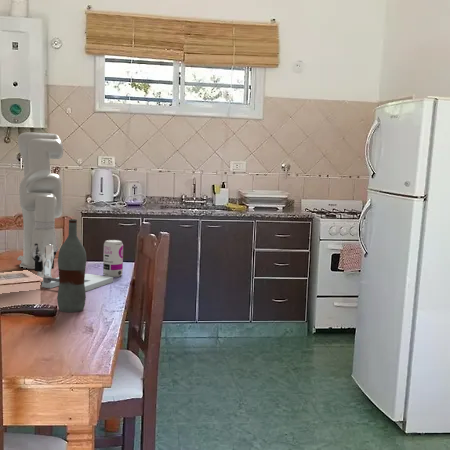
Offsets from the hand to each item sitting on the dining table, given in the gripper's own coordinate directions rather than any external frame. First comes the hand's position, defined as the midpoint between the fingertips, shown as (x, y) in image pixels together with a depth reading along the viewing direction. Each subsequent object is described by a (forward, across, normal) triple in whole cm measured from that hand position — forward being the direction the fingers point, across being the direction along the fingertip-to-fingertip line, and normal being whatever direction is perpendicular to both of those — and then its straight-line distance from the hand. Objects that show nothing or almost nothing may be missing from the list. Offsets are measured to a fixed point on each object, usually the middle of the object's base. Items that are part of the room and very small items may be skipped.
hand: (44, 269), depth 224 cm
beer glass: (+5, 0, 0) cm, 5 cm away
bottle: (+5, +29, +34) cm, 45 cm away
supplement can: (+5, -24, +17) cm, 30 cm away
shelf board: (+5, -2, +15) cm, 16 cm away
